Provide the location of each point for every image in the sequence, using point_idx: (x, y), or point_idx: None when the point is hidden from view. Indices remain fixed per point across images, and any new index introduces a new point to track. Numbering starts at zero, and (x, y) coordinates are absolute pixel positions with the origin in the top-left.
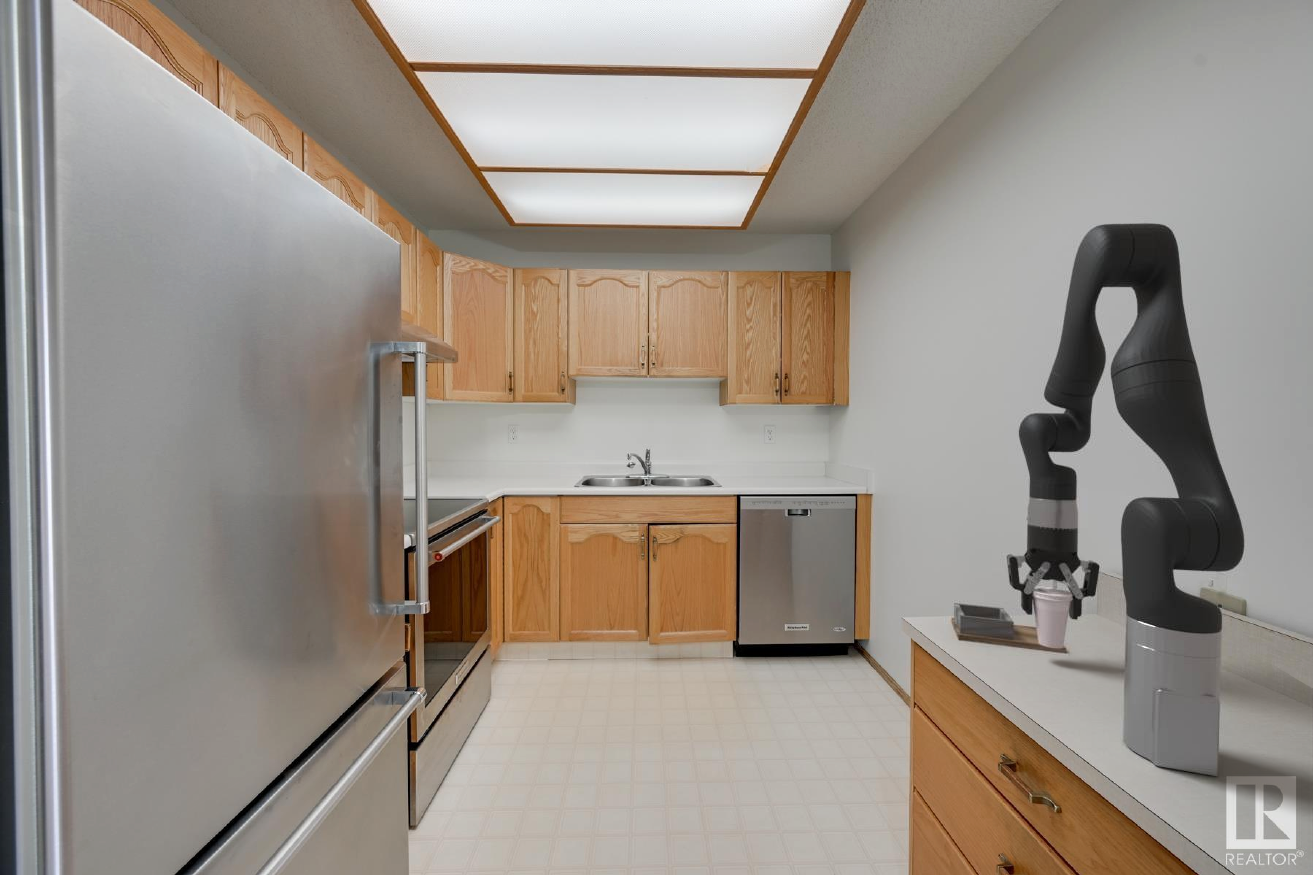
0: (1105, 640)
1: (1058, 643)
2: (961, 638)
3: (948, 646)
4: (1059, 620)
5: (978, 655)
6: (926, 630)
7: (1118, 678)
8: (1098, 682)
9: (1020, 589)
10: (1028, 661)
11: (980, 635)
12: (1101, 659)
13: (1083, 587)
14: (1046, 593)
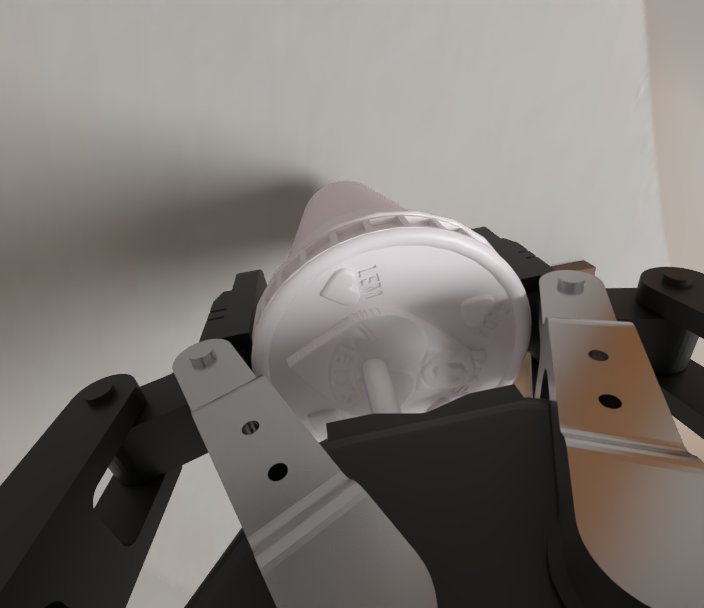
0: (190, 470)
1: (322, 191)
2: (580, 263)
3: (638, 176)
4: (329, 208)
5: (561, 135)
6: None
7: (131, 163)
8: (189, 69)
9: (615, 292)
10: (405, 170)
11: None
12: (192, 322)
13: (168, 478)
14: (443, 283)
